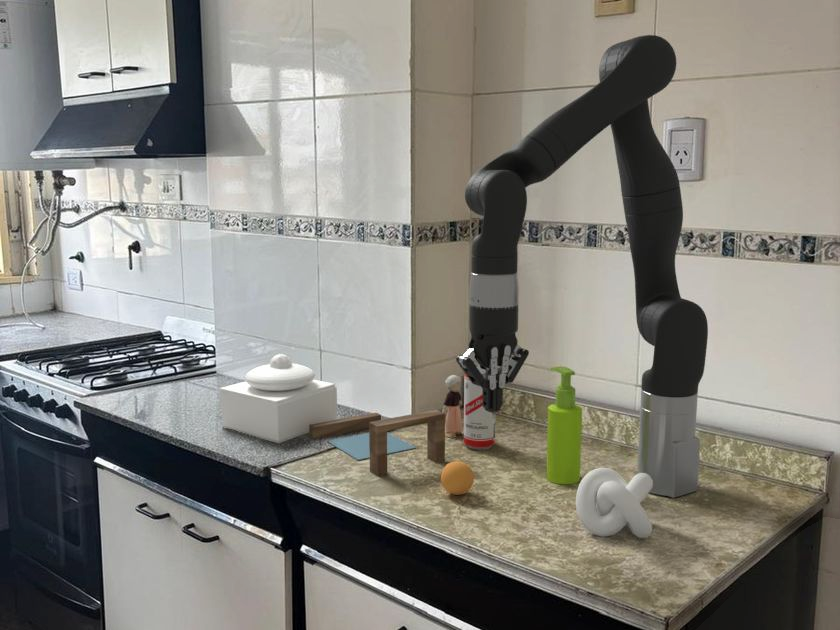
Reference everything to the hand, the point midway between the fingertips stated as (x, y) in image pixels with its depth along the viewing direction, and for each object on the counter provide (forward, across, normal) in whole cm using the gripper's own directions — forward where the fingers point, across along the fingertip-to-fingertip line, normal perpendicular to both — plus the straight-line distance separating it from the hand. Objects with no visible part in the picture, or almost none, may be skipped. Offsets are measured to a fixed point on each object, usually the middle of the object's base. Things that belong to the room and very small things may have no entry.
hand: (492, 410), depth 129 cm
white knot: (+17, +13, -16) cm, 27 cm away
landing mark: (+17, 0, +40) cm, 43 cm away
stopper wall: (+17, 0, +50) cm, 53 cm away
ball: (+14, 0, +10) cm, 17 cm away
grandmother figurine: (+17, +18, +36) cm, 44 cm away
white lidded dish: (+18, -10, +62) cm, 66 cm away
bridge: (+17, 0, +26) cm, 31 cm away
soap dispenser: (+17, +20, +6) cm, 27 cm away
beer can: (+17, +18, +28) cm, 37 cm away
